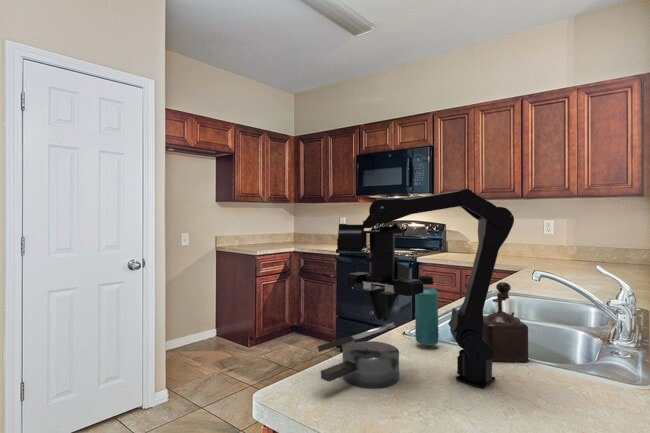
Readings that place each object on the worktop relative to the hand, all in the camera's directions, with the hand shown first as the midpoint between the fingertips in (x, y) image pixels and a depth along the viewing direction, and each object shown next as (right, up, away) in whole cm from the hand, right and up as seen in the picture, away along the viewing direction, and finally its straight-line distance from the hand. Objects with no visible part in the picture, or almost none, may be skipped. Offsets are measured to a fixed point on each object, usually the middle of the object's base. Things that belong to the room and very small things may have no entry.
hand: (382, 320), depth 91 cm
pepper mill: (+34, -13, +15) cm, 39 cm away
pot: (-6, -13, -2) cm, 15 cm away
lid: (-6, -4, -2) cm, 8 cm away
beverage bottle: (+15, -13, +20) cm, 29 cm away
